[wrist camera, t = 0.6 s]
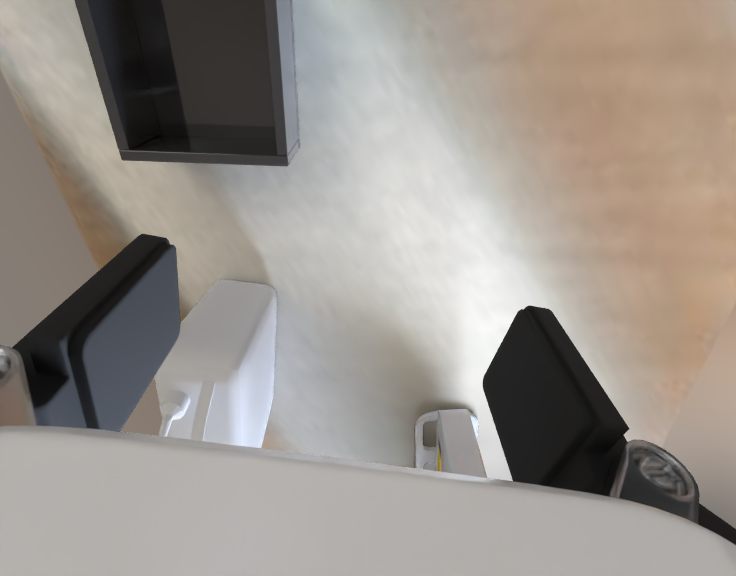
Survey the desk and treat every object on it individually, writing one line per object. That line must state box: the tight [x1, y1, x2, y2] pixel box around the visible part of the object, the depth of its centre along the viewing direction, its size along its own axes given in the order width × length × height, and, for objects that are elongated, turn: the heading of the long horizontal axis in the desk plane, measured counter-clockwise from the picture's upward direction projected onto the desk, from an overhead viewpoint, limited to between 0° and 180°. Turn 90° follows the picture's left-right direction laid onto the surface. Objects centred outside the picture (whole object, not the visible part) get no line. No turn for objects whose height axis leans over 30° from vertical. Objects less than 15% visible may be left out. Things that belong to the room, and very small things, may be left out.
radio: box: [154, 279, 277, 448], centre depth 37 cm, size 22×8×25 cm, turn 171°
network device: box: [415, 409, 487, 478], centre depth 51 cm, size 26×9×20 cm, turn 4°
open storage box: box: [75, 0, 300, 166], centre depth 29 cm, size 13×13×6 cm
